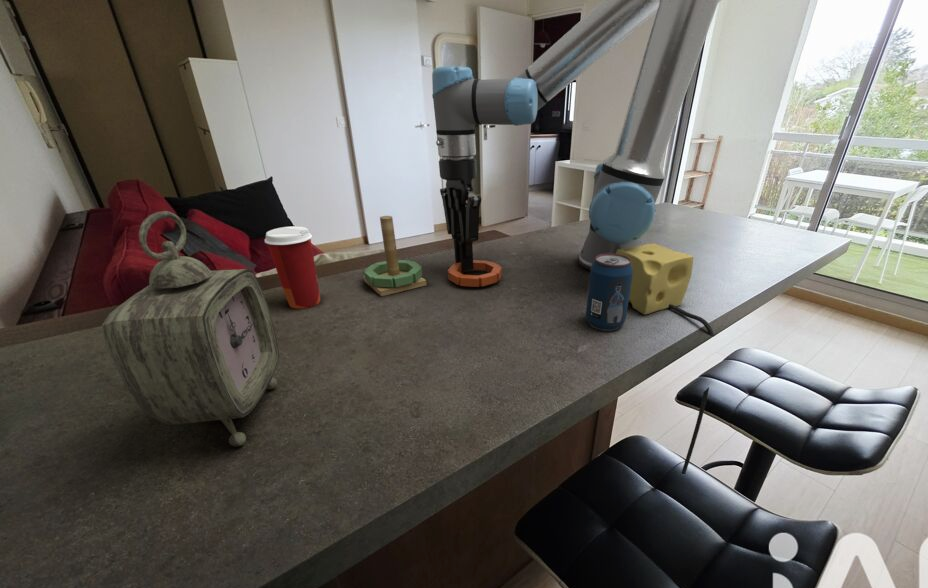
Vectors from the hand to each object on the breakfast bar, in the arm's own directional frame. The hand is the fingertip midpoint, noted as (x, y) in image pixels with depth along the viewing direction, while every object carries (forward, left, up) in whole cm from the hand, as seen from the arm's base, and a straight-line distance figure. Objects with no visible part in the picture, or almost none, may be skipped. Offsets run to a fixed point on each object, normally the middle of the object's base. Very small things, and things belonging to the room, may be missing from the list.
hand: (464, 268), depth 94 cm
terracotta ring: (-5, 0, 0) cm, 5 cm away
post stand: (+4, +15, -1) cm, 16 cm away
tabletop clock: (-25, +48, -1) cm, 55 cm away
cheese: (-33, -22, -1) cm, 40 cm away
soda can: (-35, -8, -1) cm, 36 cm away
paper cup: (+5, +33, -1) cm, 34 cm away
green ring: (+4, +15, 0) cm, 16 cm away
